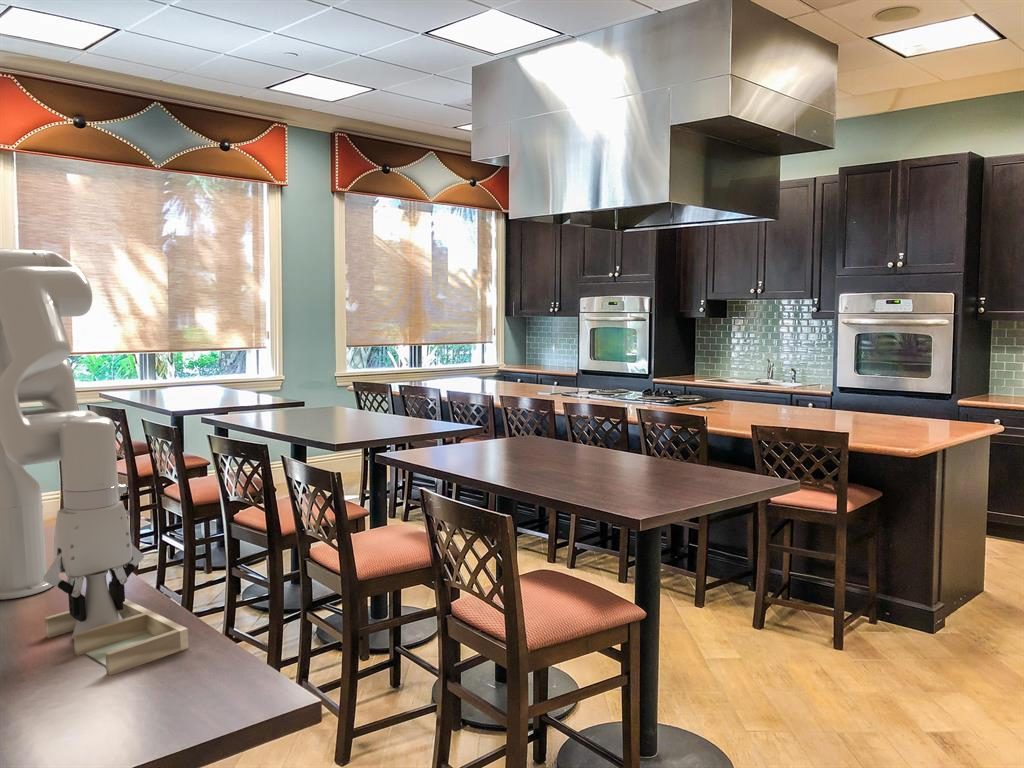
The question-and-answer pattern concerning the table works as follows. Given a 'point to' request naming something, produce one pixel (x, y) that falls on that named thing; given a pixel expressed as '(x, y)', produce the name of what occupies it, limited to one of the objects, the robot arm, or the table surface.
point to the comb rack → (123, 637)
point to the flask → (97, 604)
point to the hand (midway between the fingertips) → (98, 612)
